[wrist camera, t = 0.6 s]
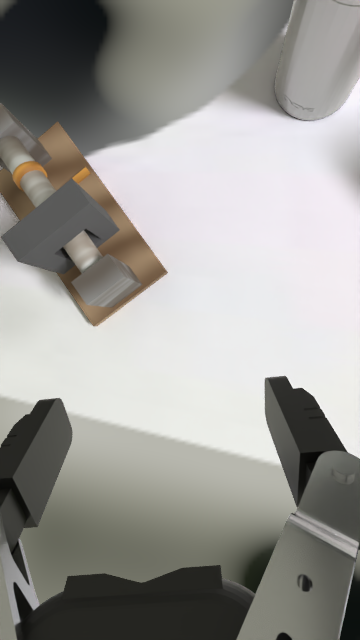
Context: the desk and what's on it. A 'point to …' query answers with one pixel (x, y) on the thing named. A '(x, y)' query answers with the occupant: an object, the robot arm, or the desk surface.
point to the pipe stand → (90, 262)
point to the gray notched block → (59, 228)
